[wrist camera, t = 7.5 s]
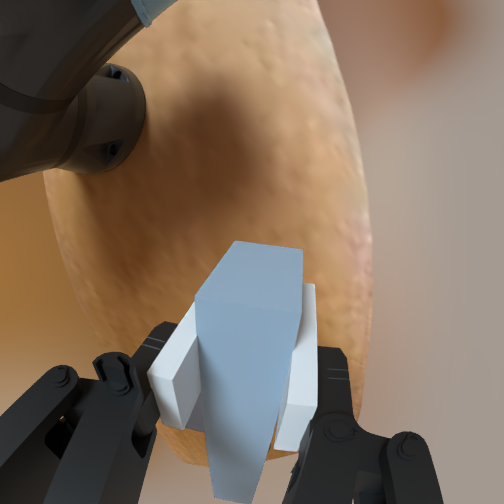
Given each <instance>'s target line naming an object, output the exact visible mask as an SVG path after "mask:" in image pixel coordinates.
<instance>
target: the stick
mask: <svg viewBox="0 0 504 504" xmlns="http://www.w3.org/2000/svg"><path fill="white" fill-rule="evenodd" d="M302 281H303V249H296V248H289V247H281V246H273V245H265V244H257V243H250V242H242V241H234V243H233V244H232V245H231V247H230V248H229V249H228V251H227V252H226V253H225V255H224V256H223V258H222V259H221V260H220V262H219V263H218V264H217V266H216V267H215V268H214V270H213V271H212V273H211V274H210V275H209V277H208V278H207V279H206V281H205V282H204V284H203V285H202V286H201V288H200V289H199V290H198V292H197V293H196V295H195V321H196V335H197V339H198V354H199V368H200V380H201V391H200V393H201V404H202V413H203V422H204V431H205V439H206V447H207V454H208V462H209V468H210V475H211V481H212V487H213V493H214V497H215V498H219V499H223V500H228V501H233V502H239V503H244V504H251V502H252V500H253V497H254V494H255V491H256V488H257V485H258V482H259V479H260V475H261V472H262V469H263V466H264V463H265V459H266V456H267V453H268V449H269V446H270V443H271V439H272V436H273V432H274V429H275V425H276V421H277V418H278V414H279V410H280V404H281V400H282V396H283V391H284V387H285V383H286V378H287V374H288V370H289V365H290V360H291V356H292V351H294V347H295V343H296V338H297V333H298V329H299V324H300V319H301V314H302Z"/></svg>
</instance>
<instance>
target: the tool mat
mask: <svg viewBox="0 0 504 504" xmlns="http://www.w3.org/2000/svg"><path fill="white" fill-rule="evenodd" d="M185 428H189V429H192V430H196V431H200V432H204V433H205V431H204V422H203V413H202V404H201V393H200V394H199V396H198V398H197V401H196V403H195V405H194V408H193V410H192V412H191V415H190V417H189V419H188V422H187V424H186V426H185Z"/></svg>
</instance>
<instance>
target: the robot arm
mask: <svg viewBox="0 0 504 504" xmlns="http://www.w3.org/2000/svg"><path fill="white" fill-rule="evenodd" d="M176 1H177V0H0V182H3V181H6V180H10V179H13V178H17V177H20V176H24V175H28V174H32V173H36V172H39V171H44V170H48V169H52V168H59V169H63V170H68V171H72V172H76V173H80V174H86V175H89V174H96V173H101V172H105V171H108V170H111V169H113V168H114V167H116V166H118V165H119V164H120V163H121V162H122V161H123V160H124V159H125V158H126V157H127V156H128V155H129V153H130V152H131V151H132V149H133V148H134V146H135V144H136V142H137V140H138V138H139V135H140V133H141V130H142V126H143V122H144V116H145V98H144V92H143V89H142V86H141V84H140V82H139V80H138V78H137V77H136V76H135V75H134V74H133V73H132V72H131V71H130V70H128V69H127V68H125V67H122V66H119V65H115V64H111V63H106V62H107V61H108V60H109V59H110V58H111V57H112V56H113V55H114V54H115V53H116V52H117V51H118V50H119V49H120V48H121V47H122V46H123V45H124V44H126V43H127V42H128V41H129V40H130V39H131V38H132V37H133V36H135V35H136V34H137V33H138V32H139V31H140V30H142V29H143V28H144V27H146V28H147V27H149V26H150V25H151V24H152V21H153V20H154V19H155V18H156V17H157V16H159V15H160V14H161V13H162V12H163V11H165V10H166V9H167V8H168V7H170V6H171V5H172V4H174V3H175V2H176ZM92 363H93V365H94V368H95V370H96V373H97V375H98V378H99V380H94V379H85V378H79V376H78V374H77V372H76V371H75V370H74V369H73V368H72V367H70V366H67V365H59V366H56V367H53V368H51V369H50V370H49V371H47V372H46V373H45V374H44V375H43V376H42V377H41V378H40V379H39V380H37V382H36V383H34V385H32V386H31V387H30V388H29V389H28V390H27V391H26V392H25V393H24V394H23V395H22V396H21V397H20V398H19V399H17V400H16V401H15V402H14V404H12V405H11V406H10V407H9V408H8V409H7V410H6V411H5V412H4V413H3V414H2V415H1V416H0V504H138V501H139V497H140V492H141V489H142V485H143V481H144V477H145V474H146V470H147V467H148V463H149V460H150V456H151V452H152V449H153V445H154V442H155V439H156V435H157V429H156V426H155V425H156V423H157V421H158V419H159V417H160V418H161V421H162V423H163V424H164V425H167V426H170V427H173V428H177V429H180V430H183V431H184V429H185V426H186V424H187V422H188V419H189V417H190V415H191V412H192V410H193V408H194V405H195V403H196V401H197V398H198V396H199V394H200V391H201V380H200V368H199V354H198V339H197V335H196V321H195V301H194V303H193V304H192V306H191V307H190V309H189V310H188V311H187V313H186V314H185V316H184V317H183V319H182V320H181V322H180V323H179V324H175V323H170V322H166V321H165V322H163V323H161V324H160V325H158V326H156V327H155V328H154V329H153V330H152V331H151V333H150V334H149V335H148V338H146V339H145V341H144V342H143V343H142V345H141V346H140V347H139V349H138V350H137V351H136V352H135V354H134V355H133V356H132V358H130V357H129V356H128V355H126V354H124V353H121V352H109V353H104V354H102V355H100V356H98V357H97V358H96V359H95V360H94V361H93V362H92ZM62 416H63V418H62V419H60V418H61V417H62ZM274 449H276V450H285V451H295V452H297V451H298V449H299V457H298V460H297V462H296V464H295V466H294V468H293V470H292V471H291V473H292V476H291V479H290V482H289V485H288V488H287V491H286V494H285V497H284V499H283V502H282V504H352V500H353V499H354V504H444V503H443V499H442V495H441V491H440V487H439V483H438V479H437V475H436V472H435V469H434V465H433V462H432V458H431V455H430V452H429V448H428V446H427V444H426V442H425V440H424V439H423V438H422V437H421V436H420V435H418V434H416V433H413V432H401V433H398V434H395V435H394V436H393V437H392V438H386V437H382V436H378V435H375V434H372V433H369V432H367V431H365V430H363V429H362V428H361V427H360V426H359V425H358V423H357V422H356V421H355V419H354V415H353V408H352V398H351V388H350V380H349V371H348V364H347V358H346V356H345V355H344V353H343V352H342V350H341V349H340V348H332V347H322V346H317V323H316V300H315V284H310V283H302V314H301V319H300V324H299V329H298V333H297V338H296V343H295V347H294V351H292V356H291V360H290V365H289V370H288V374H287V378H286V383H285V387H284V391H283V396H282V400H281V404H280V411H279V418H278V424H277V431H276V437H275V443H274Z"/></svg>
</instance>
